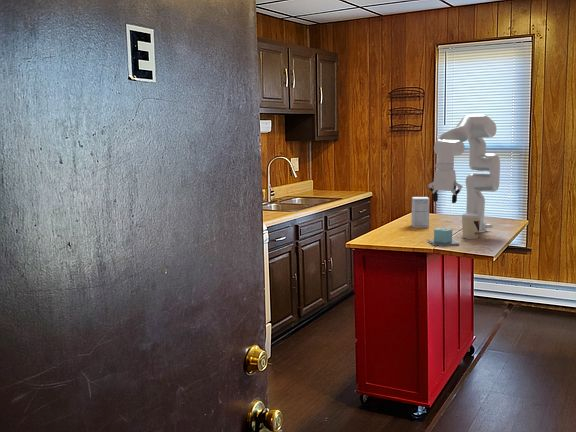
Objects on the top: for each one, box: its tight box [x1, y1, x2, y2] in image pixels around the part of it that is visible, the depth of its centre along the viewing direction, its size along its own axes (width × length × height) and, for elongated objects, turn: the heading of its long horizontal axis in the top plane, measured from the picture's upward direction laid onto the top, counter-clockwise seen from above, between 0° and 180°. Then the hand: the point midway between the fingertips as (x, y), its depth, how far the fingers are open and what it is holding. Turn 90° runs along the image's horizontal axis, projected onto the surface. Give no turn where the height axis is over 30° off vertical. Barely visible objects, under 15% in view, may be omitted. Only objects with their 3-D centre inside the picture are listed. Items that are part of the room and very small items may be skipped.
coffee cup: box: [461, 212, 481, 240], centre depth 312 cm, size 9×9×12 cm
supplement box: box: [410, 196, 430, 228], centre depth 349 cm, size 10×9×17 cm
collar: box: [433, 227, 453, 243], centre depth 295 cm, size 6×6×6 cm
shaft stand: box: [426, 228, 460, 247], centre depth 295 cm, size 12×12×7 cm
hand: (444, 202), depth 293 cm, fingers open, 9 cm apart
